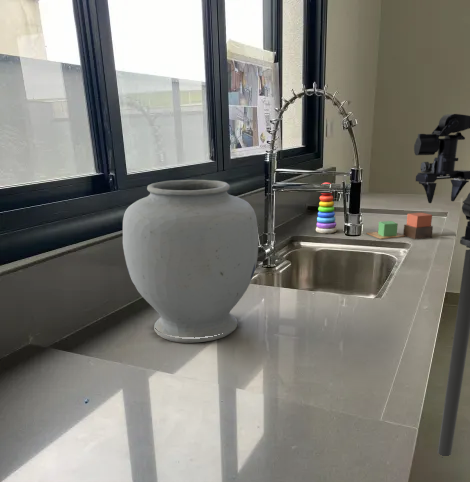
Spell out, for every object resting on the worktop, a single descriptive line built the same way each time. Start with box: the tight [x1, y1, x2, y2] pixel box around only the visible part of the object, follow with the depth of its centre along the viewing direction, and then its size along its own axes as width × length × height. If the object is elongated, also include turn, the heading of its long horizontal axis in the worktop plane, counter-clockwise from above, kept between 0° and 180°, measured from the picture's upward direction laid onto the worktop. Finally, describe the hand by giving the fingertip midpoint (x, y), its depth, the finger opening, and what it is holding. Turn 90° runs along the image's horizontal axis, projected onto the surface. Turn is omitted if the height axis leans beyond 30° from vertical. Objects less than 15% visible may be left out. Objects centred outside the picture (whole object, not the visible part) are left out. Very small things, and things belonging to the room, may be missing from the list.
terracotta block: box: [406, 211, 433, 228], centre depth 178 cm, size 6×6×4 cm
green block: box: [377, 220, 399, 237], centre depth 182 cm, size 5×5×4 cm
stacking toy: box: [315, 182, 338, 235], centre depth 189 cm, size 8×8×19 cm
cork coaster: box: [366, 231, 406, 240], centre depth 184 cm, size 10×10×1 cm
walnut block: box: [402, 223, 434, 240], centre depth 180 cm, size 7×7×4 cm
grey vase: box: [122, 179, 259, 344], centre depth 101 cm, size 27×27×30 cm
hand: (441, 202), depth 170 cm, fingers open, 9 cm apart
